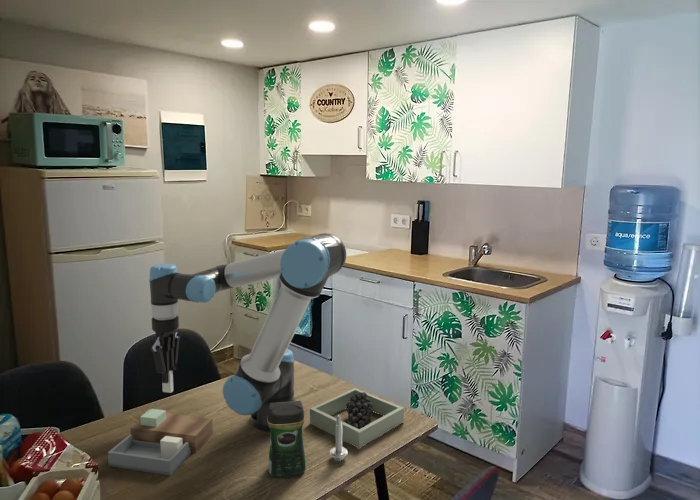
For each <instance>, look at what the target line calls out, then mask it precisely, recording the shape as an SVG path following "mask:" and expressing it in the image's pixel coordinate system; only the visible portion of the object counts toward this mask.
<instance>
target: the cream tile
mask: <svg viewBox="0 0 700 500" xmlns="http://www.w3.org/2000/svg"><path fill="white" fill-rule="evenodd" d="M160 445H161V458H166V459H170V458H171V457H172V456H173V455H174V454H175V453H176V452H177V451H178V450H179V449H180V448H181V447H182V445H183V442H182V438H178V437H171V436H165V437H164V438H163V439H161V440H160Z"/></svg>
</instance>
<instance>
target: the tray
mask: <svg viewBox="0 0 700 500" xmlns="http://www.w3.org/2000/svg"><path fill="white" fill-rule="evenodd" d="M191 454H192V452H191V448H190V447H189V442H185V443H184V444H183V445H182V447H181V448H180V449H179V450H178V451H177V452H176V453H175V454H174V455H173V456H172V457H171V458H170V459H166V458H161V445H160V443H153V442H145V441H138V440H132V435H131V434H128V435H127V436H126V437H125V438H123V439H122V440H121V441H120V442H119V443H117V444H115V446H114V447H112V448H111V449H110V450H109V451H108V452H107V462H108V467H109V466H112V467H111V468H116V467H119V468H118V469H122V468H123V469H124V470H131V471H137V472H144V473H151V474H156V475H164V476H170V477H171V476H172V475H173V474H174V473H175V472H176V471H177V469H179V468H180V466H181V465H183V464H184V463H185V461H186V460H187V459H188V458H189V457H190V456H191ZM123 469H122V470H123Z"/></svg>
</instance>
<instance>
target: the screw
mask: <svg viewBox="0 0 700 500" xmlns="http://www.w3.org/2000/svg"><path fill="white" fill-rule="evenodd" d="M336 419H337V422H336V437H335V447H332V448H331V449H330V450H329V454H330V456H332V457H333V459H334V461H335V462H339V461H340V462H342V461H344V460H343V459H344V458H345V457H346V456H347V455H348V454H349V452H348V449H347V448H345V447H344V446H343V440H342V423H341V421H342V415H341V414H340V413H338V414H337V415H336ZM341 460H342V461H341Z"/></svg>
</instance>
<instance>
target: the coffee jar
mask: <svg viewBox="0 0 700 500" xmlns="http://www.w3.org/2000/svg"><path fill="white" fill-rule="evenodd" d="M305 419H306V416H305V410H304V406H303V402H302V401H301V400H296V401H290V402H277V403H270V405H269V409H268V416H267V423H268V426H269V428H270V432H269V451H268V473H269V474H270V475H271V476H272V477H274V478H290V477H297V476H301V475H302V474H303V473H304V472H305V471H306V467H307V466H306V454H305V453H306V452H305V445H304V439H303V438H304V437H303V425H304V423H305Z"/></svg>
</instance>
